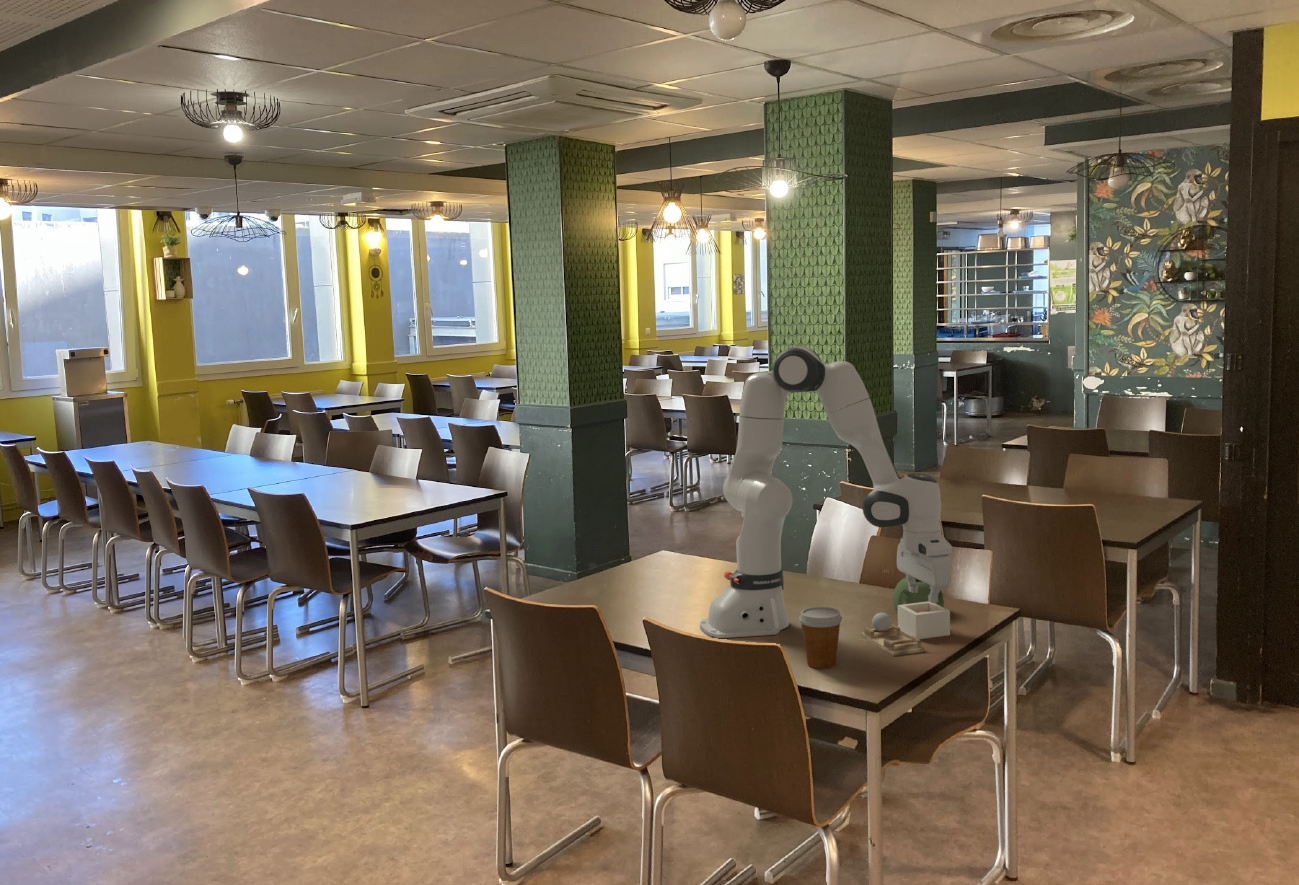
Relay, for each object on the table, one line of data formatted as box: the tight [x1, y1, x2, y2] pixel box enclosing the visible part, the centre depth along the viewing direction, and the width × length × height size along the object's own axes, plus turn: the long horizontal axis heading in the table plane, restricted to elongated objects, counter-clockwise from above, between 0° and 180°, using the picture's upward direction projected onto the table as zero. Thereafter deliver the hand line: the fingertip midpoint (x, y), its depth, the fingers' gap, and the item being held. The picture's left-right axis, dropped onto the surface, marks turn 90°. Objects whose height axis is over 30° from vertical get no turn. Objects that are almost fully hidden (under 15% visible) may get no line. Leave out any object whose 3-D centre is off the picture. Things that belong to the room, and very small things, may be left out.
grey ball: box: [871, 612, 893, 632], centre depth 254 cm, size 4×4×4 cm
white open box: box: [897, 601, 951, 640], centre depth 257 cm, size 9×9×6 cm
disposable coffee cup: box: [798, 606, 843, 670], centre depth 237 cm, size 10×10×12 cm
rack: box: [860, 623, 926, 657], centre depth 249 cm, size 8×16×2 cm, turn 15°
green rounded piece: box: [892, 577, 945, 612], centre depth 272 cm, size 16×13×9 cm
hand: (923, 597), depth 256 cm, fingers open, 8 cm apart
